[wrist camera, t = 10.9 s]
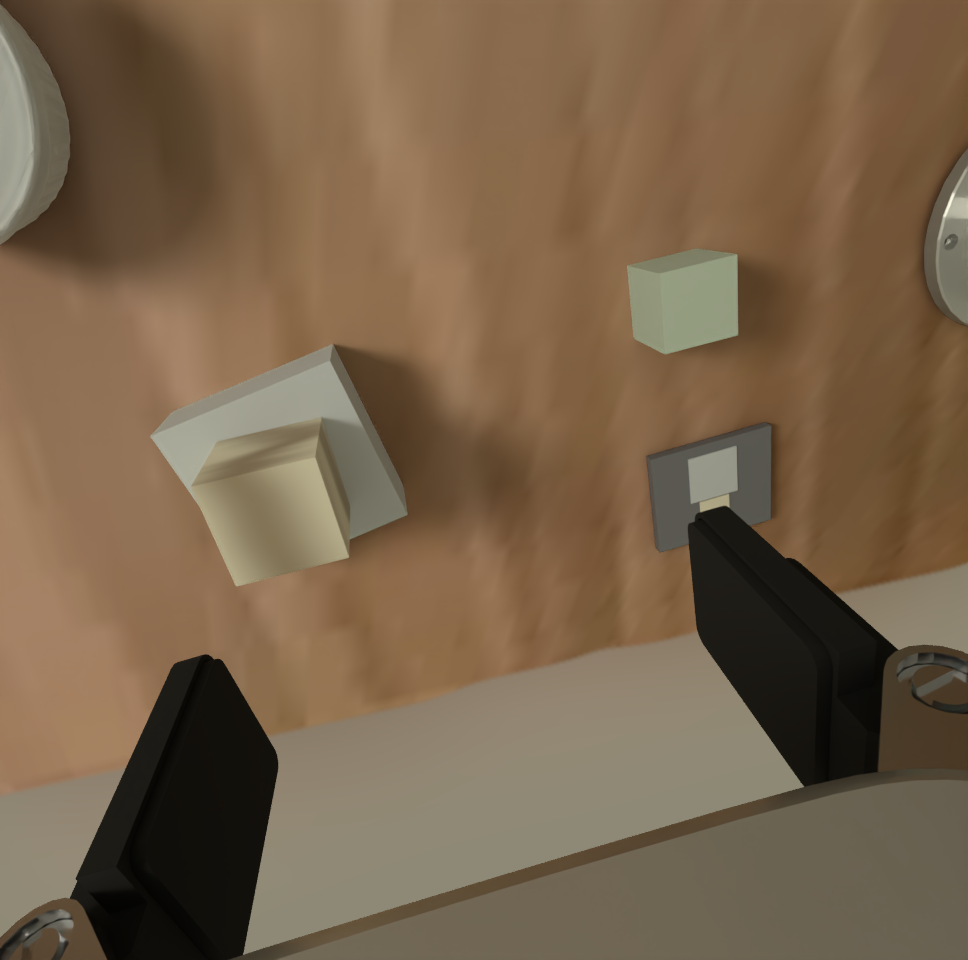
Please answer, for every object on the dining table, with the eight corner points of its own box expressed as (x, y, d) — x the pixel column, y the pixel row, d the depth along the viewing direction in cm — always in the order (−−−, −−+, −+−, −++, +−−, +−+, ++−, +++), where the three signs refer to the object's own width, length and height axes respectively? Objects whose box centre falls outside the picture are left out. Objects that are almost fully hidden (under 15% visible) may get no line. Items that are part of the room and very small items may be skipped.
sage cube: (696, 248, 32) (737, 254, 29) (698, 321, 34) (738, 335, 31) (626, 265, 32) (659, 273, 28) (632, 338, 34) (664, 354, 30)
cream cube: (321, 417, 29) (315, 457, 24) (350, 506, 31) (349, 557, 26) (216, 441, 28) (190, 486, 24) (253, 530, 30) (236, 586, 26)
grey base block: (333, 342, 31) (329, 360, 28) (403, 483, 35) (407, 514, 32) (174, 409, 31) (150, 436, 28) (262, 542, 35) (251, 581, 32)
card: (765, 422, 38) (772, 426, 37) (765, 515, 41) (771, 520, 40) (646, 456, 37) (651, 460, 36) (655, 547, 40) (660, 553, 40)
